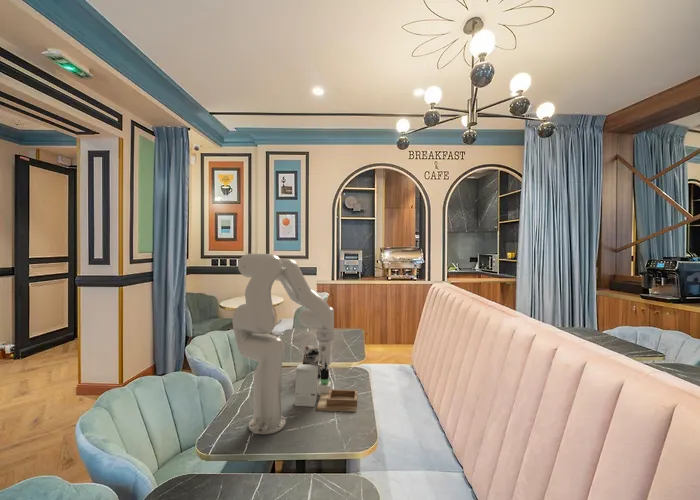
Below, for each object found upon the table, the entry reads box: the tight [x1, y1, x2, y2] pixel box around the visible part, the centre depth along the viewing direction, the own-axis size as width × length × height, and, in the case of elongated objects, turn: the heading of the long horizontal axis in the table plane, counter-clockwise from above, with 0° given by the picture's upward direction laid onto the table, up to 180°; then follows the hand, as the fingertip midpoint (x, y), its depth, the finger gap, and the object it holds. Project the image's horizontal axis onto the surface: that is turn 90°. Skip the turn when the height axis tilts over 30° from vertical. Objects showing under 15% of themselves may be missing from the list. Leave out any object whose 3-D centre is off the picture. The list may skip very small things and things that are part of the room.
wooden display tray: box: [316, 388, 359, 412], centre depth 140 cm, size 13×15×4 cm
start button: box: [320, 377, 330, 384], centre depth 150 cm, size 4×4×5 cm
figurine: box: [302, 344, 321, 378], centre depth 167 cm, size 9×12×15 cm
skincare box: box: [294, 363, 319, 408], centre depth 140 cm, size 8×6×15 cm
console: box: [317, 380, 332, 396], centre depth 150 cm, size 5×5×4 cm
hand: (324, 378), depth 150 cm, fingers closed
